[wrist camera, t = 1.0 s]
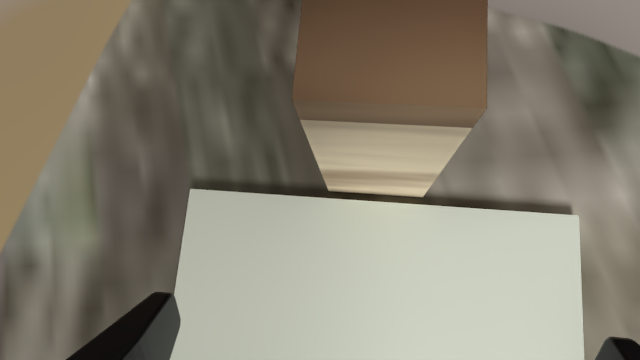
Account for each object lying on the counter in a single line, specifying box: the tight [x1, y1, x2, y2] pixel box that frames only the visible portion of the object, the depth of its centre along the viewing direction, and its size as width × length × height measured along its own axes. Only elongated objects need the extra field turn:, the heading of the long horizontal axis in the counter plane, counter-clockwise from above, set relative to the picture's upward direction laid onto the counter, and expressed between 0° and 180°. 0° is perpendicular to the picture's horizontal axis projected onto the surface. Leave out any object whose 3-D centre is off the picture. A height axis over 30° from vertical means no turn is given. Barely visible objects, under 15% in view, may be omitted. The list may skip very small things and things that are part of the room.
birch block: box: [292, 0, 488, 197], centre depth 18 cm, size 6×5×12 cm
